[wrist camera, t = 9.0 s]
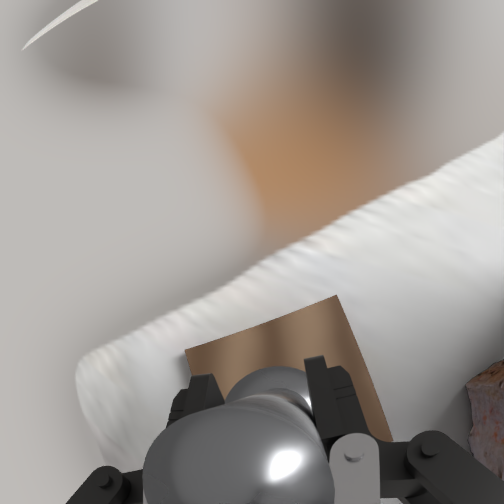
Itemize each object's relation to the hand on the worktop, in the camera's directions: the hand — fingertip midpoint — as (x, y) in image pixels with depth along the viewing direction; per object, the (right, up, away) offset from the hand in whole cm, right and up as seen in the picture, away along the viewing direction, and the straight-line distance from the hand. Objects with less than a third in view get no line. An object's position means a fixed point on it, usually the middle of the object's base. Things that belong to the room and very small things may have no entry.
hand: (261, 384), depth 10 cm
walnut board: (+3, -8, +13) cm, 16 cm away
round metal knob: (+1, -4, +3) cm, 5 cm away
